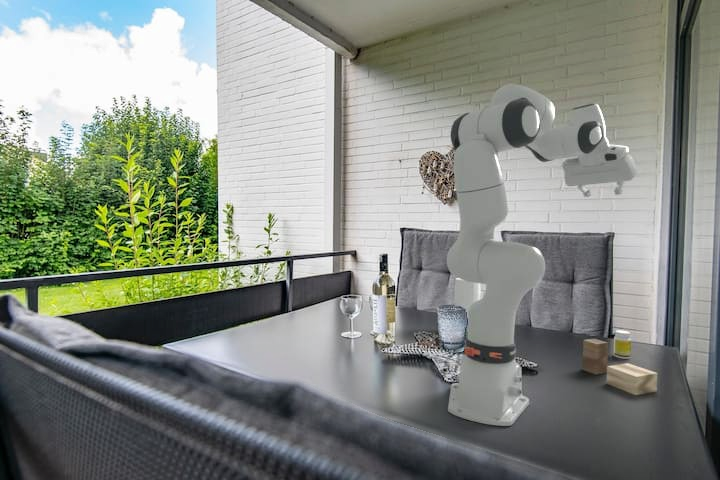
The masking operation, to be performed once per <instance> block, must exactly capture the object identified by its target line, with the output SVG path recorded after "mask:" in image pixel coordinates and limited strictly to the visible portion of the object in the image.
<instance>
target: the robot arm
mask: <svg viewBox="0 0 720 480" xmlns="http://www.w3.org/2000/svg"><path fill="white" fill-rule="evenodd" d="M555 113H556V110H555V106H554V104H553V102H552V101H551V100H550V99H549V98H548V97H546V96H545V95H543V94H542V93H540V92H538V91H536V90H534V89H533V88H530V87H528V86H525V85H521V84H516V83H508V84H505V85H502V86H501V87H500V88H498V89H497V90H496V91H495V92H494V94H493V95H492V98H491V101H490V104H489V105H487V106H485V107H482V108H479V109H476V110H474V111H472V112H467V113H464V114H462V115H460V116H459V117H457V118H456V119H455V120H454V121H453V123H452V126H451V127H450V128H451V129H450V141H451V145H452V148H453V149H454V154H453V174H454V175H453V176H454V177H453V178H454V179H453V180H454V186H455V192H456V198H457V204H458V213H459V219H460V220H459V221H460V222H459V223H460V225H459V231H458V232H459V233H458V236H457V239H456V241H455V242H454V243H453V244H452V246H451V247H450V248H449V250H448V251H447V254H446V266H447V269H448V271H449V273H450V274H451V275H452V276H453V277H455V278H460V279H463V280H465V281H468V282H474V283H480V285H482V284H483V285H485V291H484V295H483V296H482V298H480V300H478V301H476V302H475V303H473V304H472V305H471V306H470V308H469V310H468V327H467V336H466V337H465V342H464V351H463V352H464V354H463V355H462V356H461V357H460V360H459V361H460V368H459V370H460V372H459V375H457V376H456V377H455V380H456V382H455V383H452V384H451V385H450V391H449V399H448V405H447V411H448V412H449V413H450V414H452V415H454V416H456V417H459V418H461V419H464V420H469V421H472V422H476V423H479V424H484V425H490V426H497V427H498V426H502V427H507V426H508V427H510V426H512V425H513V424H514V423H515V422H516V420H517V419H518V418H519V417H520V415H521V414H522V413H524V411H525V410H526V408H527V407H528V406H529V405H530V399H529V398H528V397H527V396H525V395H523V394H522V367H521V366H520V364H518V362H517V361H516V359H515V358H516V352H517V348H516V342H515V337H514V336H515V324H516V314H517V310H518V307H519V305H520V303H521V301H522V299H523V297H525V295H526V294H527V293H528V292H529V291H531V290H532V289H534V288H536V287H537V286H538V285H539V284H540V283H541V281H542V280H543V278H544V276H545V272H546V261H545V257H544V256H543V253H542V251H541V250H540V249H538V248H537V247H535V246H532V245H528V244H525V243H521V242H513V241H499V240H498V241H497V240H496V239H495V237H494V233H495V227H498V226H499V225H500V224H501V223H503V222H504V221H505V220H506V218H507V216H508V213H509V208H508V201H507V195H506V189H505V182H504V176H503V172H502V168H501V167H502V166H501V164H500V161H499V157H498V155H499V153H501V152H506V151H508V150H513V149H520V148H523V147H525V148H527V150H529V151H530V152H531V153H532V155H533V156H534V157H535V158H536V159H537V160H538V161H540V162H543V163H547V162H551V161H555V160H560V159H562V160H563V159H565V160H564V161H563V162H562V169H563V171H564V172H563V173H564V181H565V185H566V186H568V187H577V188H578V189H579V191H580V192H582V193H583V195H582V196H583V198H590V196H591V195H592V194H591V190H589V189H587V188H586V187H585V186H588V185H597V184H598V185H599V184H607V183H616V185H618V186H617V187H616V188H615V189H614V190H613V192H614V195H615V196H618V195H619V196H620V195H622V193H623V190H622V188H623V185H624V184H625V182H630V181H632V180H633V179H634V178H635V177H636V176H637V169H636V164H635V161H634V159H633V156H631V155H630V154H628V153H629V151H630V150H629V147H628V146H626V145H617V144H611V143H609V140H608V138H607V137H606V124H605V120H604V117H603V113H602V111H601V109H600V106H599V105H598V103H589V104H584V105H581V106H577V107H574V108H572V109H571V110H570V112H569V114H570V115H569V116H570V118H569V119H570V122H569V123H568V125H563V126H559V127H554V128H552V125H553V123H554V120H555V117H556V114H555Z"/></svg>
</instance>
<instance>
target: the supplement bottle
mask: <svg viewBox="0 0 720 480" xmlns="http://www.w3.org/2000/svg"><path fill="white" fill-rule="evenodd" d="M614 335H615V336H614V337H613V348H612V349H613V352H612V353H613V356H614V357H616V358H618V359H624V360H628V359H631V350H632V349H631V347H632V345H631V344H632V341H631V340H632V339H631V337H630V336H631V333H630V332H629V331H625V330H621V329H620V330H615V333H614Z"/></svg>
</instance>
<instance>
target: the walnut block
mask: <svg viewBox="0 0 720 480" xmlns="http://www.w3.org/2000/svg"><path fill="white" fill-rule="evenodd" d="M582 344H583V346H582V365H581V366H582V370H583V371H586V372H588V373H591V374H593V375H595V376H596V375H602V374H607V366H608V356H609V355H608V352H609V342H607V341H603V340H600V339H597V338H588V339H583V341H582Z"/></svg>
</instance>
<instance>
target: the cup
mask: <svg viewBox="0 0 720 480" xmlns="http://www.w3.org/2000/svg"><path fill="white" fill-rule="evenodd" d="M481 292H482V291H481V284H480V283H474V282H468V281H465V280H463V279H460V278H458V277H455V280H454V305H455V307H456V306H461V307H464V308H465V309H466V312H467V318H468V310H469V308H470V306H471V305H472V304H473V303H475V302H476V301H478V300H481Z"/></svg>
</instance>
